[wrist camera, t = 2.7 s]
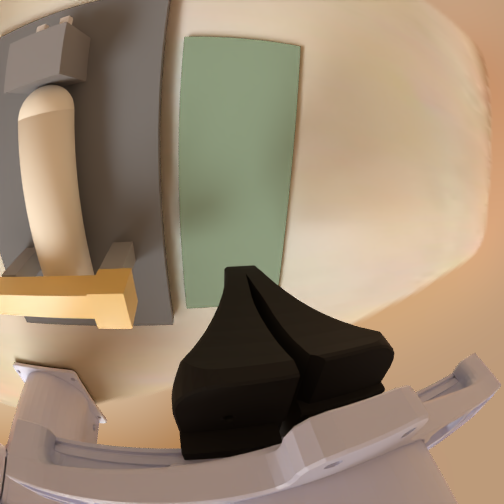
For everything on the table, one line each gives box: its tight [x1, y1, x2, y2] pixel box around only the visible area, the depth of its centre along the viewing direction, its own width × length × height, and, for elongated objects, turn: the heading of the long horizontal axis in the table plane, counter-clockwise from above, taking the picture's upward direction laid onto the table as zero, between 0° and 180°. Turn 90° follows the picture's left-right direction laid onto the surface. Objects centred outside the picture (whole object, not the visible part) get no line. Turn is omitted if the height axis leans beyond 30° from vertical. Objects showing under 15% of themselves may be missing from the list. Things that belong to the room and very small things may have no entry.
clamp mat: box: [0, 0, 173, 326], centre depth 10 cm, size 20×12×4 cm, turn 176°
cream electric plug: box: [4, 16, 94, 276], centre depth 10 cm, size 16×3×3 cm, turn 176°
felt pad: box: [179, 37, 301, 308], centre depth 14 cm, size 16×6×1 cm, turn 176°
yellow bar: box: [0, 268, 138, 329], centre depth 10 cm, size 2×8×2 cm, turn 86°
